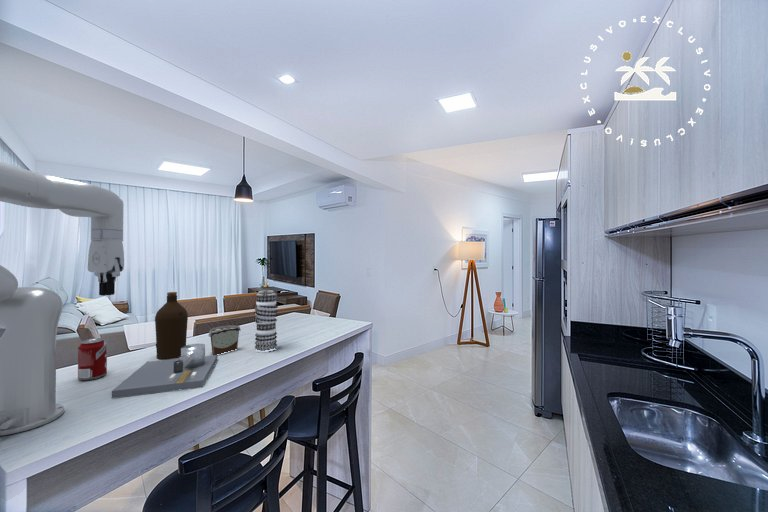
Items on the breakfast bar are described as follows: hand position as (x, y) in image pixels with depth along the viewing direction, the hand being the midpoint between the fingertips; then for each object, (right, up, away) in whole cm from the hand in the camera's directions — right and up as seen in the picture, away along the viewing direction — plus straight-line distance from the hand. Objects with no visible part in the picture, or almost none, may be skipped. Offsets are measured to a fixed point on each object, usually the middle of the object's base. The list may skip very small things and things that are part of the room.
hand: (106, 294), depth 94 cm
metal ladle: (+23, -25, +4) cm, 34 cm away
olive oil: (+2, -28, +25) cm, 37 cm away
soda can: (-8, -27, +4) cm, 29 cm away
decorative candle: (+37, -28, +33) cm, 57 cm away
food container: (+20, -28, +30) cm, 46 cm away
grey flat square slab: (+17, -27, +5) cm, 33 cm away
